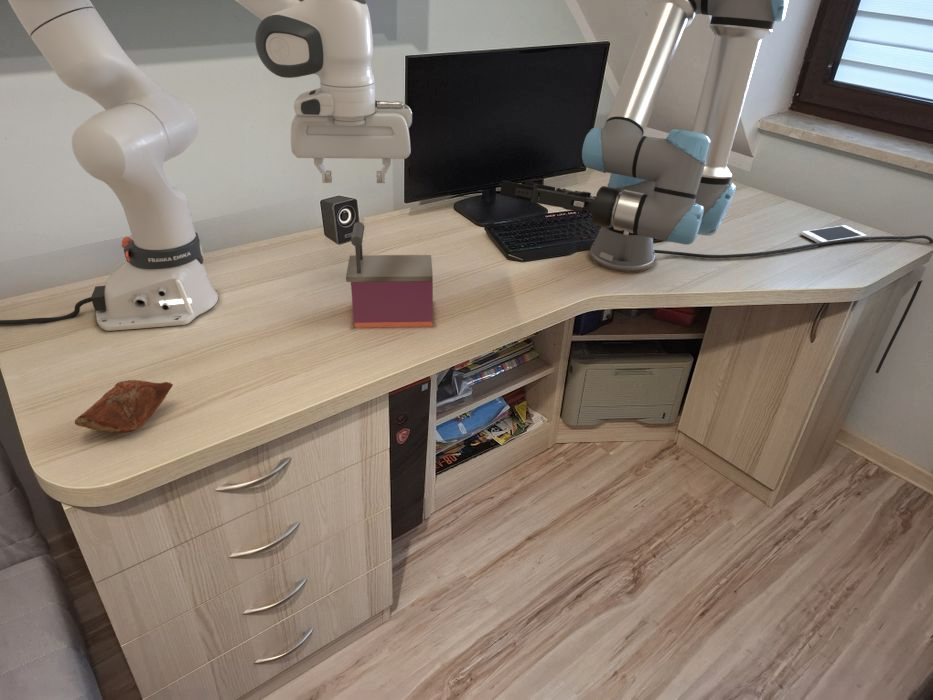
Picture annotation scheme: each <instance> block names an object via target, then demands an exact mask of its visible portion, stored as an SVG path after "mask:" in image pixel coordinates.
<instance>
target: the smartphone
mask: <svg viewBox="0 0 933 700" xmlns="http://www.w3.org/2000/svg"><path fill="white" fill-rule="evenodd" d="M801 235H802V236H803V237H806V238H807V239H809V240H811V241H814V242H815V243H819V242H827V241H833V240H840V239H847V238H858V237H867V234H865V233H863V232H861V231H859V230H856V229H854V228H852V227H850V226H848V225H846V224H845V225H844V224H843V225H837V226H831V227H824V228H817V229H810V230H803V231H802V232H801Z"/></svg>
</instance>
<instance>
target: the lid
mask: <svg viewBox="0 0 933 700" xmlns="http://www.w3.org/2000/svg"><path fill="white" fill-rule="evenodd" d="M364 233H365V225H364V223H363V222H361V221H356V222H355V223H354V224H353V228H352V234H351V239H350V243H351V244H352V246H354V249H355V255H354V254H353V255H351V254H350V255H349V257H348V263H347V269H346V275H345V281H346V283H351V282H402V281H434V280H433V279H434V276H433V274H434V273H433V261H432V260H433V259H432V254H373V255H372V254H369V255H368V254H364V253H363V241H364V240H363V239H364Z"/></svg>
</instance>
